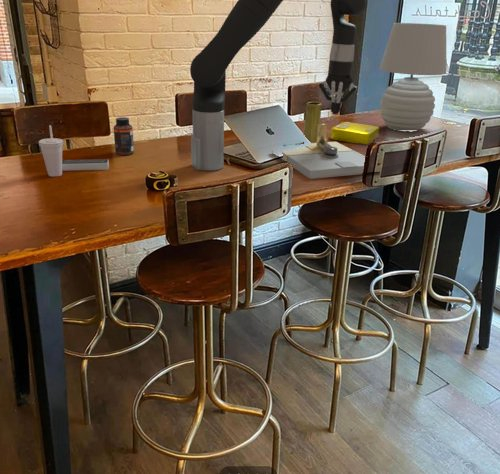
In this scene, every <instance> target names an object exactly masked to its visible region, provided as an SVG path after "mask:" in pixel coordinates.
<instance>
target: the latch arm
mask: <svg viewBox="0 0 500 474" xmlns="http://www.w3.org/2000/svg"><path fill="white" fill-rule="evenodd" d="M328 128H329V124H327V123H324V122H323V123H321V122H320V124H318V131H317V143H316V146H319V147H320V148H321V149H322V150H323V151H324V154H326V155H331V156H333V155H337V148H336V147H332V146H331V145H329V144H328V143H327V142H328V141H327V140H328V139H327V138H328Z"/></svg>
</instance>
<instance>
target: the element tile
mask: <svg viewBox="0 0 500 474" xmlns="http://www.w3.org/2000/svg"><path fill="white" fill-rule="evenodd" d="M379 127H380V126H376V125H370V124H362V123H355V122H350V121H349V122H348V121H342V122H340V123H339V124H336V125H334V126H332V127H331V130H330V139H331V140H334V141H340V142H347V143H353V144H359V143H361V144H360V145H369V143H370V142H371V143H373V142H374V141H375V140H377V139H378V138H377V137H379V132H380V128H379ZM376 138H377V139H376ZM374 139H375V140H374ZM373 140H374V141H373Z"/></svg>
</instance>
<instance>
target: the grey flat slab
mask: <svg viewBox="0 0 500 474" xmlns="http://www.w3.org/2000/svg"><path fill="white" fill-rule="evenodd" d="M326 142H327V143H328V144H329V145H331V146H332V147H336V148H337V155H333V156H331V155H326V154H324V151H323V150H322V149H321V148H320V147H319V146H316V143H311V145H308V146H304V147H301V148H297V149H294V150H289V151H284V152H282V154H283V158H284V159H285V161H287V163H290V164H292V165H293V167H292V168H293V169H295V170H296V171H298V172H299V173H301V174H302V175H303V176H304V177H306V178H308V179H309V180H312V179H323V178H333V177H344V176H354V175H355V176H356V175H357V176H358V175H363V174H362V173H363V169H364V162H365V155H363V154H361V153H359V152H357V151H356V150H354V149H351V148H350V147H347V146H346V145H343V144H341V143H339V142H338V141H326ZM287 163H286V164H287Z"/></svg>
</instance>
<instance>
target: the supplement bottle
mask: <svg viewBox="0 0 500 474" xmlns="http://www.w3.org/2000/svg"><path fill="white" fill-rule="evenodd" d="M115 123H116V124H115V125H113V138H114V140H113V141H114V149H115V154H117V155H119V156H129V155H133V154H134V153H135V146H134V144H135V143H134V130H133V126H132V125H131V124H130V118H128V117H123V116H122V117H121V116H120V117H116V118H115Z"/></svg>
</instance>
